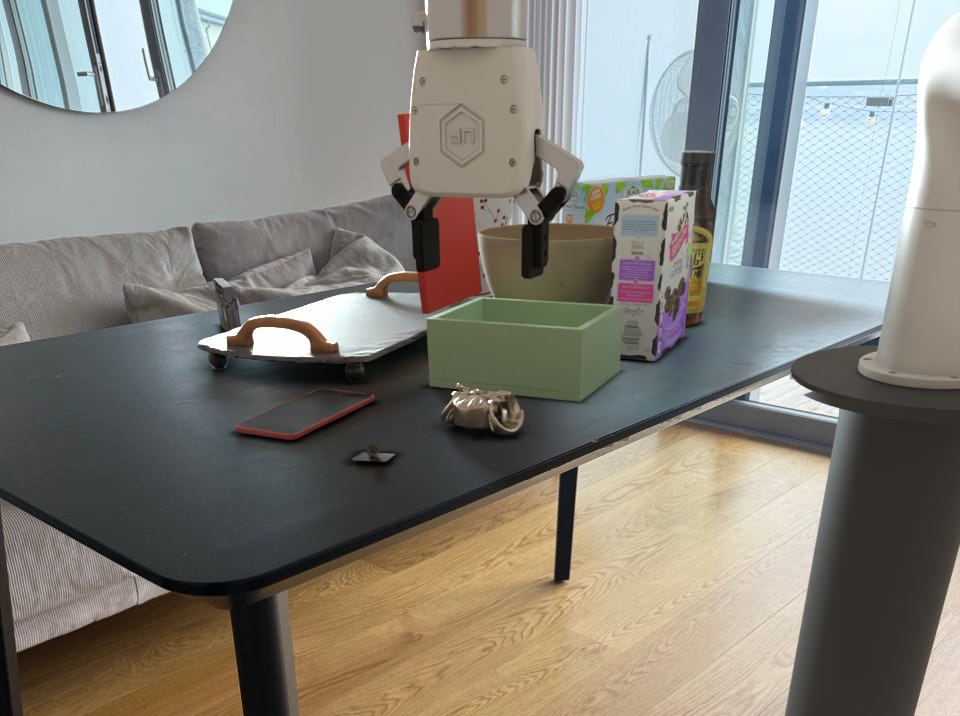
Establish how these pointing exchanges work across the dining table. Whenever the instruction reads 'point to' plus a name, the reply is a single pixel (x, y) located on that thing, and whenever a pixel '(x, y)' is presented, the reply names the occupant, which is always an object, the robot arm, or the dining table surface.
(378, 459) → the square plate with knob
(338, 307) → the serving tray
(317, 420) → the smartphone
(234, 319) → the mini dv tape
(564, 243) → the flower pot
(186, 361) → the dining table surface
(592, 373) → the open storage box
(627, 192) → the snack box
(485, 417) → the ornament
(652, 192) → the candy box
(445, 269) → the lid
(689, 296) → the sauce bottle
